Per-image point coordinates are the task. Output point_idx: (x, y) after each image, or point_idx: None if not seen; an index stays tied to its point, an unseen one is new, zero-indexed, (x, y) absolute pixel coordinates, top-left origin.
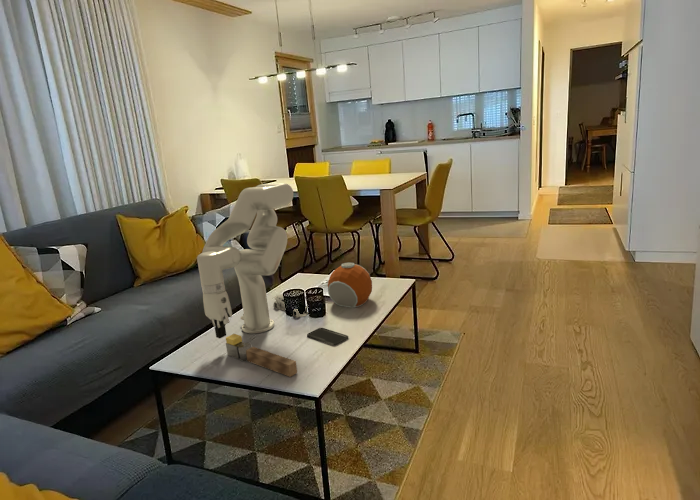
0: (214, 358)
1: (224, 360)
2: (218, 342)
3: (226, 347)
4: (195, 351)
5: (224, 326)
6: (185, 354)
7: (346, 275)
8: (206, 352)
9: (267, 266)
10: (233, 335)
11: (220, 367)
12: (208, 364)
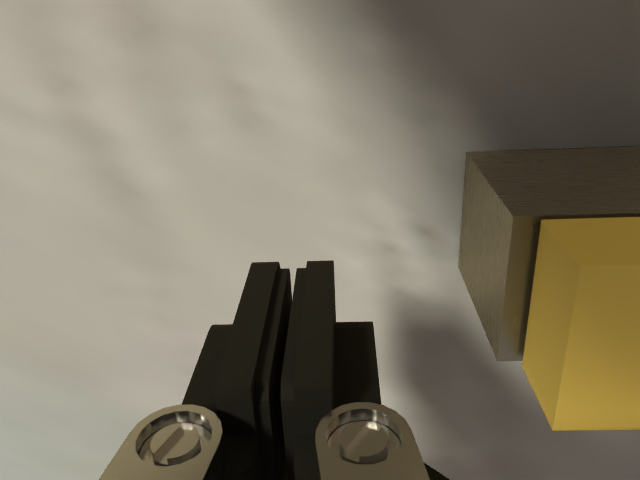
0: (381, 370)
1: None
2: (28, 118)
3: (482, 321)
4: (56, 379)
5: (331, 376)
6: (45, 451)
7: None
8: (177, 339)
9: None
10: (637, 321)
11: (593, 435)
12: (433, 454)
